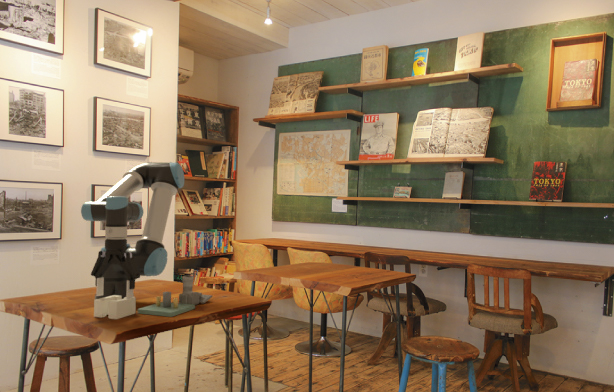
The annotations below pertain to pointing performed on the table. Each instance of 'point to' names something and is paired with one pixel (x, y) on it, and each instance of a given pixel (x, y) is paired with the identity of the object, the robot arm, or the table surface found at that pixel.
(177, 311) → the board
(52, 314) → the table surface
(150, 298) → the table surface
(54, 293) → the table surface
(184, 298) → the camera
